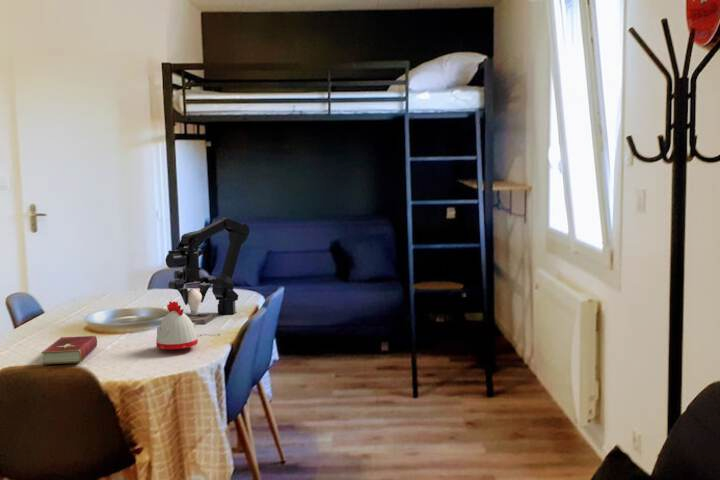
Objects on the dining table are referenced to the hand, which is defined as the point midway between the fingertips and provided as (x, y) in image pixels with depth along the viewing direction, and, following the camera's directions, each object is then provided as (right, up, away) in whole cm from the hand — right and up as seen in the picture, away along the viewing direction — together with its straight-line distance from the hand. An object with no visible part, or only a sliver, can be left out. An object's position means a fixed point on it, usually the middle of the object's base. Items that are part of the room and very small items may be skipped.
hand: (193, 303), depth 292 cm
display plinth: (0, -7, +1) cm, 7 cm away
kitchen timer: (+3, -11, -39) cm, 40 cm away
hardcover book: (-30, -13, -48) cm, 58 cm away
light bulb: (0, -5, 0) cm, 5 cm away
